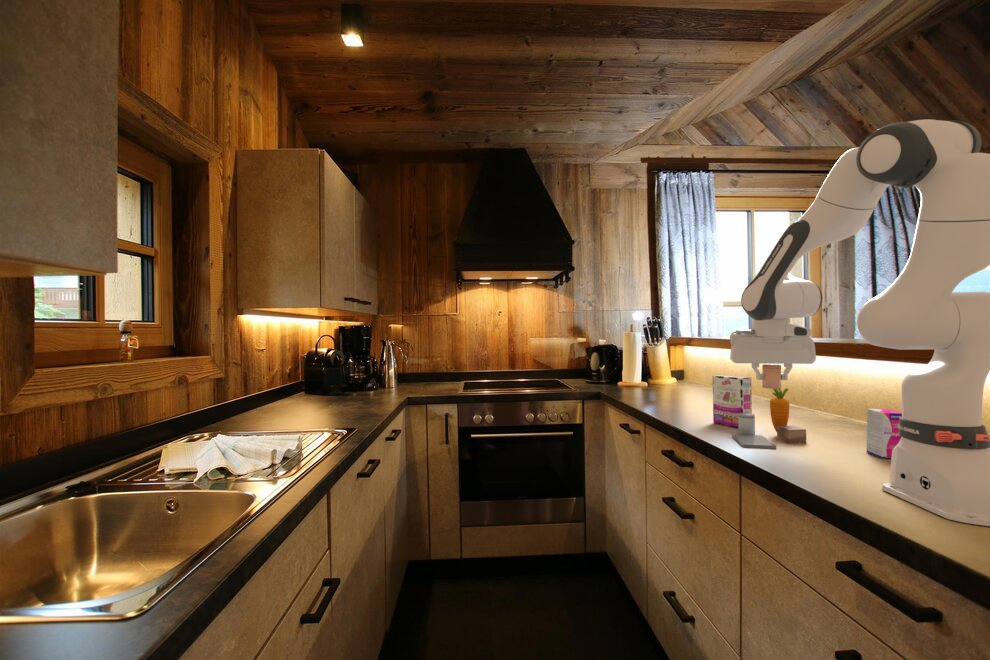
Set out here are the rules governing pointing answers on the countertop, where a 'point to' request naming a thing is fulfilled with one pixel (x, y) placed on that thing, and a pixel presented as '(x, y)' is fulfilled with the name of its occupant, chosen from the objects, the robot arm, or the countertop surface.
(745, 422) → the grey-blue jar
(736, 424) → the candy bar box
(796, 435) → the walnut block
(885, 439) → the supplement box
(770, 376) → the terracotta jar
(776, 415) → the carrot
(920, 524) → the countertop surface
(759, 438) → the slate coaster
